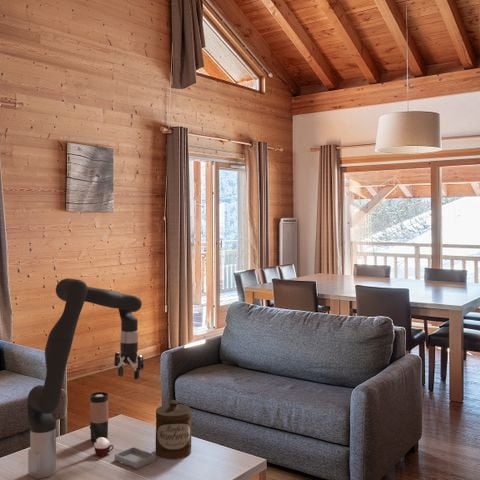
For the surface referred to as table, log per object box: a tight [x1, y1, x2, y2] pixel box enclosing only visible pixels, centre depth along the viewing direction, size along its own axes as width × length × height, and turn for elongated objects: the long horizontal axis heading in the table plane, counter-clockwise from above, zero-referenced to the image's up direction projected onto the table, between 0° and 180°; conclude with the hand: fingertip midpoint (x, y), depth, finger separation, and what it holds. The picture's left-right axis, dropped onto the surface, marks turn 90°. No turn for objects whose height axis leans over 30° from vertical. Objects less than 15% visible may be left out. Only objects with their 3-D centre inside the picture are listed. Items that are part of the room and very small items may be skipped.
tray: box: [114, 446, 156, 470], centre depth 230 cm, size 10×13×2 cm
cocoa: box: [89, 425, 114, 457], centre depth 236 cm, size 10×6×12 cm, turn 85°
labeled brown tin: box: [155, 399, 192, 460], centre depth 238 cm, size 15×15×22 cm
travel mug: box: [89, 391, 109, 443], centre depth 251 cm, size 8×8×20 cm
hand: (128, 377), depth 250 cm, fingers open, 8 cm apart
